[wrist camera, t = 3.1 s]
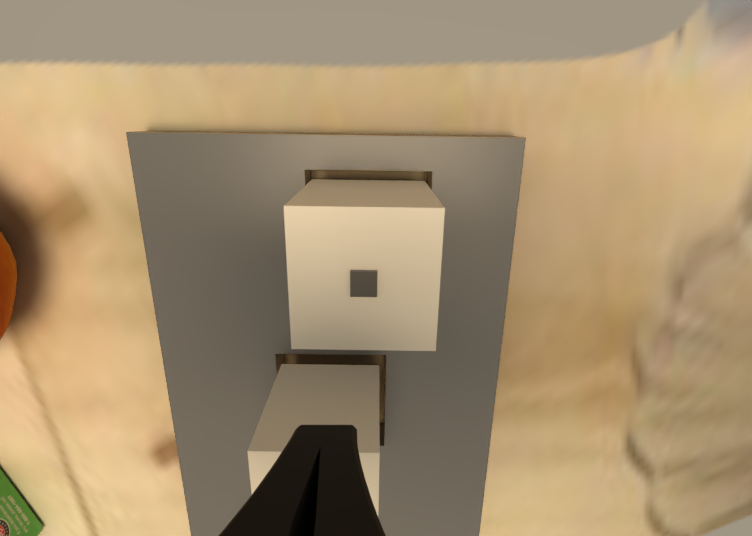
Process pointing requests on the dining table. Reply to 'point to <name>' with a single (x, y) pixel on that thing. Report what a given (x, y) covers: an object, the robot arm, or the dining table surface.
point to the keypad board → (272, 320)
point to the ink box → (15, 512)
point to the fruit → (6, 283)
